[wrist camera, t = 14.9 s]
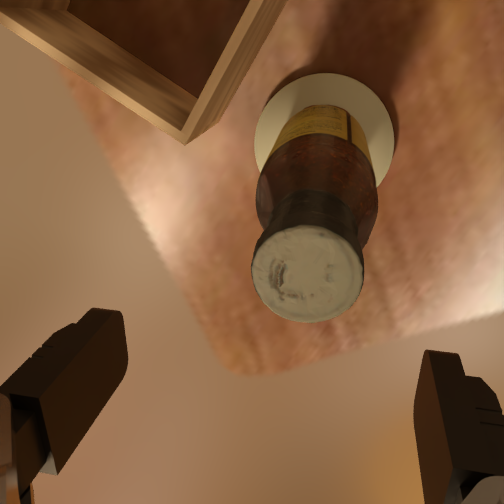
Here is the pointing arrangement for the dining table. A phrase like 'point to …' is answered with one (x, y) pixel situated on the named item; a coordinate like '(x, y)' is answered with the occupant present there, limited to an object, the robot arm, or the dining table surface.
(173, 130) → the caddy
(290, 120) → the sauce bottle
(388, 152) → the saucer
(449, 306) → the dining table surface
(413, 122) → the dining table surface
